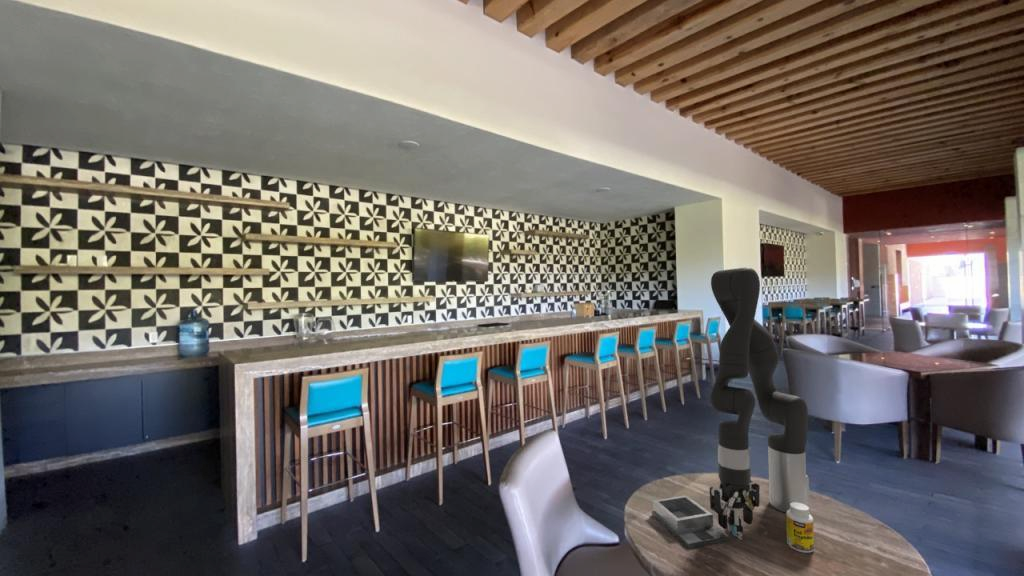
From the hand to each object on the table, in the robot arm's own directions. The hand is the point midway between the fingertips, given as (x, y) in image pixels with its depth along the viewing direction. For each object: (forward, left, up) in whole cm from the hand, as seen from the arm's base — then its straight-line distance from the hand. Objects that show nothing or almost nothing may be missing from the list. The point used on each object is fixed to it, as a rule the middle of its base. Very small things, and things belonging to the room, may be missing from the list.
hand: (735, 524), depth 108 cm
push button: (0, 0, -3) cm, 3 cm away
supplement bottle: (-11, +9, -3) cm, 14 cm away
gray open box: (+10, -6, -2) cm, 12 cm away
